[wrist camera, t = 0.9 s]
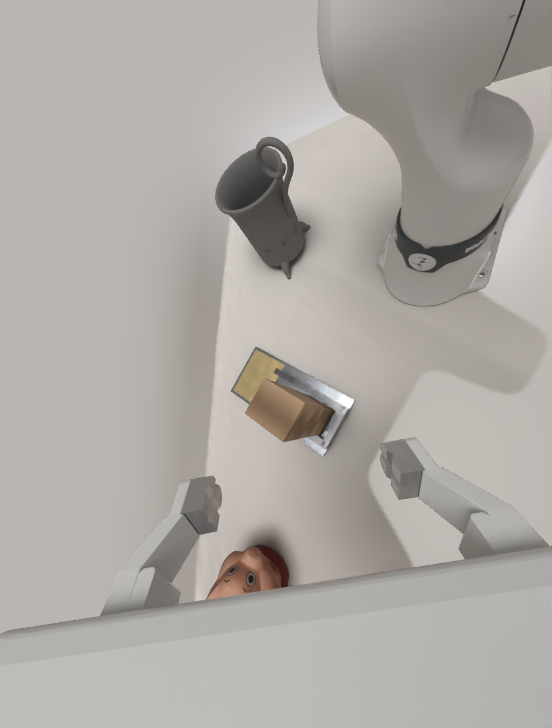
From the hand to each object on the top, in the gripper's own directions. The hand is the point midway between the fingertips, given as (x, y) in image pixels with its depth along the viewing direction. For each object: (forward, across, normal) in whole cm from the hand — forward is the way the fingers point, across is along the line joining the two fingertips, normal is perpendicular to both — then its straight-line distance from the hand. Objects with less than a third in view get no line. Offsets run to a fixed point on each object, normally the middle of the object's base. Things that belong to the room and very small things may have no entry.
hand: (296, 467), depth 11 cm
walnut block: (+27, -4, +22) cm, 34 cm away
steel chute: (+32, +1, +20) cm, 38 cm away
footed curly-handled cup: (+57, -6, -5) cm, 58 cm away
